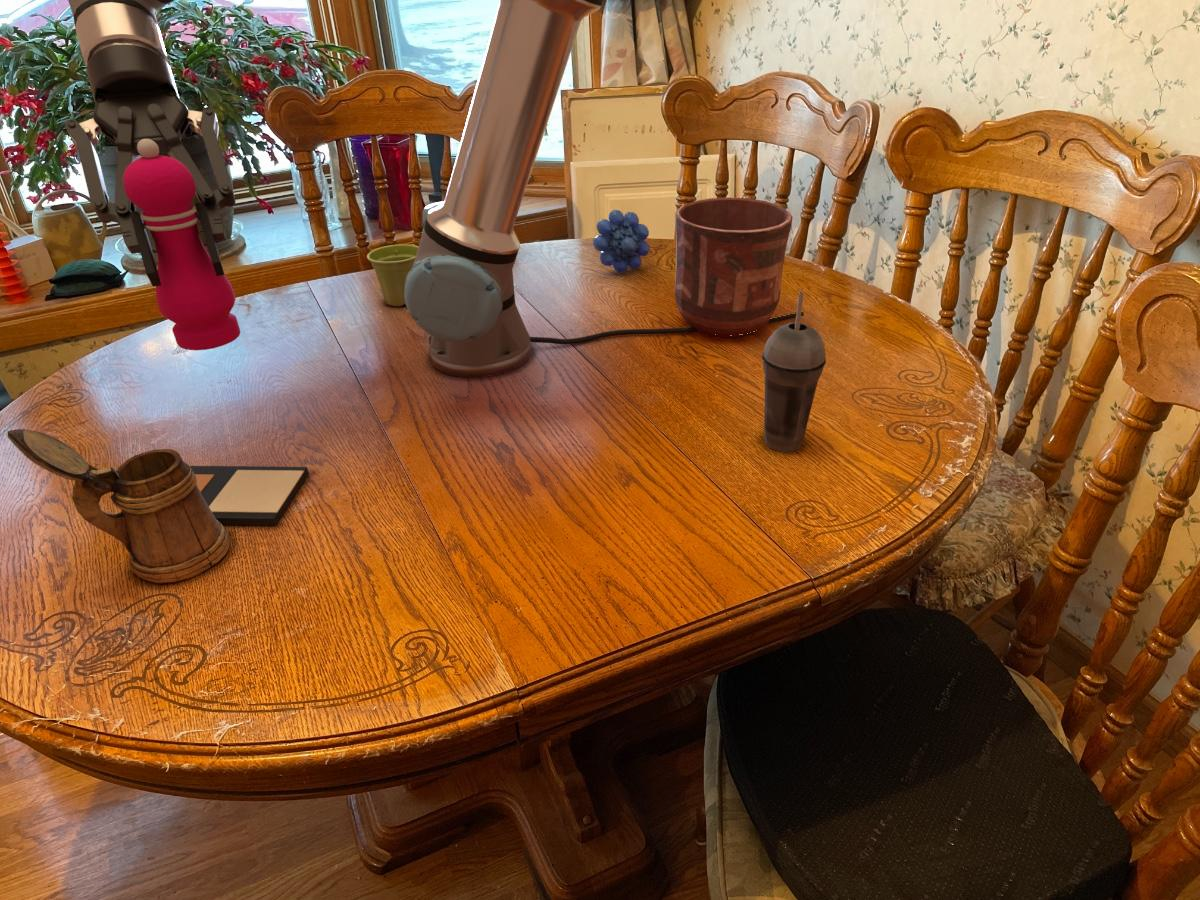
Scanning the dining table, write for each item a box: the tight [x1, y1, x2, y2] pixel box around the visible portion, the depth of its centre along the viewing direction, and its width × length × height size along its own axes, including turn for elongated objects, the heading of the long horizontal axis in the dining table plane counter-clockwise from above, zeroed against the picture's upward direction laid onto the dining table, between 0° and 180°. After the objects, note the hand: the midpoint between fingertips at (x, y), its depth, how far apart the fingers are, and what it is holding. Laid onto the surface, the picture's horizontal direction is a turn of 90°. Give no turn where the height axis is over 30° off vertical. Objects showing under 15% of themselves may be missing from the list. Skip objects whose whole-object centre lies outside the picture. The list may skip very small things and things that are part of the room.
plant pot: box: [366, 243, 419, 307], centre depth 136 cm, size 9×9×9 cm
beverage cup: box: [761, 290, 827, 453], centre depth 91 cm, size 7×7×20 cm
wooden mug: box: [6, 428, 231, 585], centre depth 75 cm, size 9×14×18 cm, turn 122°
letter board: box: [189, 465, 310, 527], centre depth 88 cm, size 15×10×1 cm, turn 87°
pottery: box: [674, 196, 793, 340], centre depth 122 cm, size 18×18×18 cm
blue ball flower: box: [592, 209, 651, 274], centre depth 144 cm, size 12×7×12 cm, turn 116°
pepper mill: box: [123, 139, 241, 351], centre depth 77 cm, size 7×7×20 cm
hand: (186, 273), depth 75 cm, fingers closed on pepper mill, 5 cm apart
